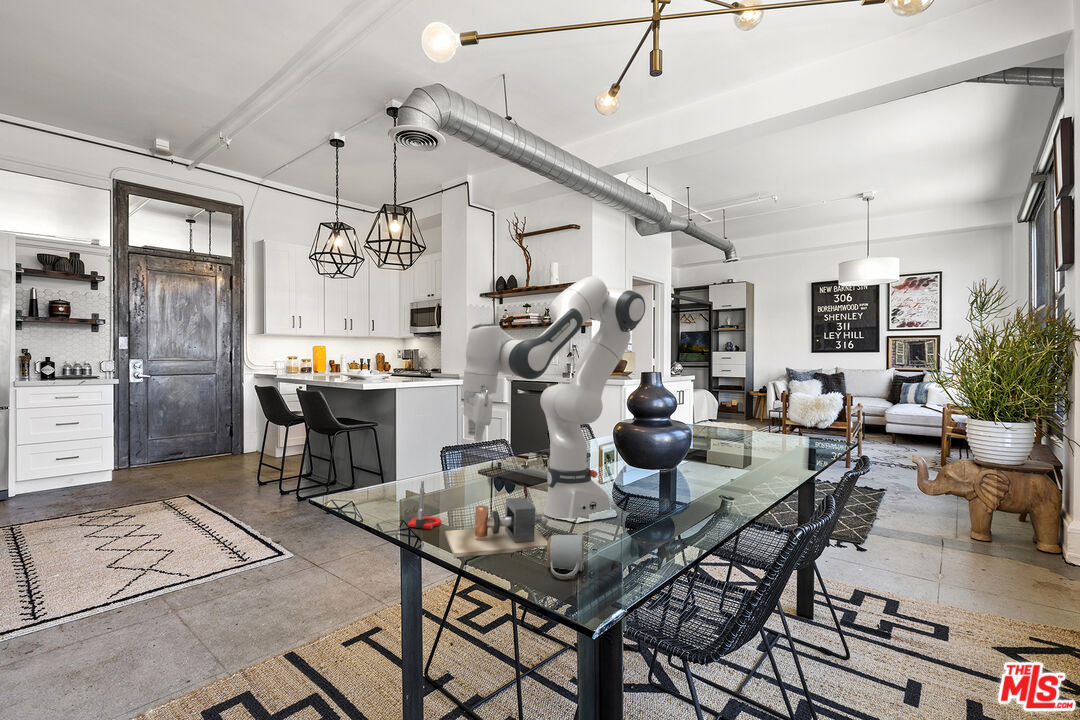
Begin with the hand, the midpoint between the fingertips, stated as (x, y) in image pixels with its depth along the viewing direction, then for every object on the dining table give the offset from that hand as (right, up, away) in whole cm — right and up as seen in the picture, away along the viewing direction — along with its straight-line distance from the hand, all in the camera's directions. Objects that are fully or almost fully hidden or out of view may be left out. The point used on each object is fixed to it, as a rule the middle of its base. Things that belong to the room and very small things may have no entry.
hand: (474, 438), depth 138 cm
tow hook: (-15, -26, +10) cm, 31 cm away
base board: (+6, -26, -3) cm, 27 cm away
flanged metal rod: (+9, -24, -1) cm, 26 cm away
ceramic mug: (+23, -27, -19) cm, 40 cm away
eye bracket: (+12, -26, -1) cm, 29 cm away
